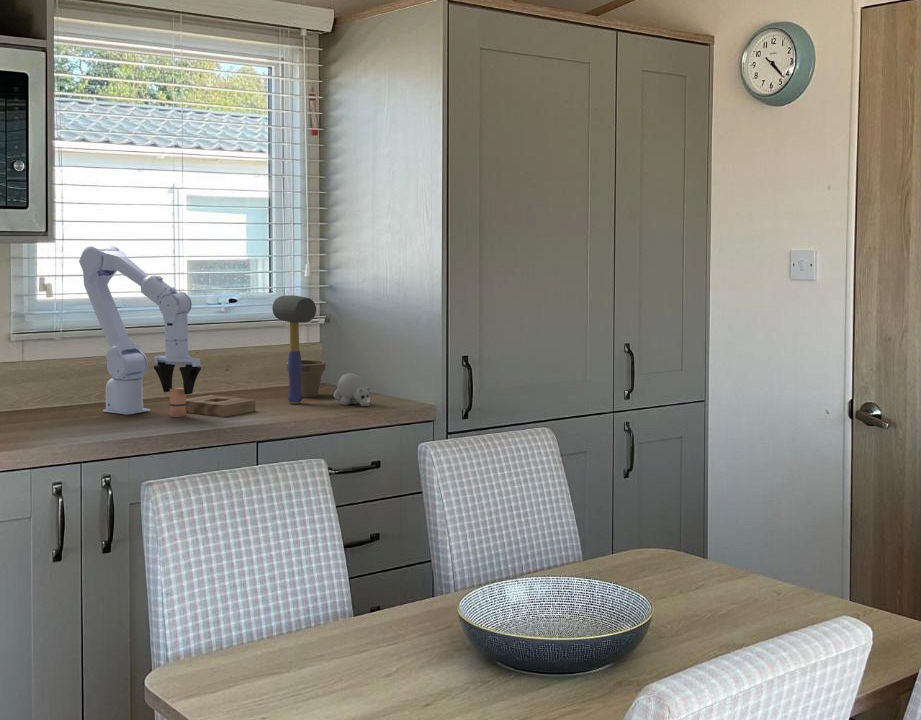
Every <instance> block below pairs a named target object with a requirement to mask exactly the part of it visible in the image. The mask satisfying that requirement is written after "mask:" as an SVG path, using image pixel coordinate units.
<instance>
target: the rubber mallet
mask: <svg viewBox="0 0 921 720" xmlns="http://www.w3.org/2000/svg"><path fill="white" fill-rule="evenodd" d="M271 307H272V308H271V309H272V313H273V315H274V317H275V318H276V319H278V320H279V321H283V322H288V323H289V352H288V360H287V362H288V371H287V373H288V374H287V375H288V394H287V400H288V402H289V404H291V405H298V404H301V401H302V400H303V397H302V392H301V372H302V362H301V360H302V356H301V351H300V327H299V324H300V323H301V324H303V323H304V324H305V323H309V322H311V321H313V319H314V318H315V316H316V314H317V306H316V303H315V302H314V300H313V299H311V298H309V297H306V296H301V295H280V296H278V297H277V298H275V300H274V301H273V304H272V306H271Z"/></svg>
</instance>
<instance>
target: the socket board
mask: <svg viewBox="0 0 921 720" xmlns="http://www.w3.org/2000/svg"><path fill="white" fill-rule="evenodd" d="M252 412H256V399H250V398H242V397H235V396H234V397H233V396H222V395H215V394H214V395H213V394H209V395H203V396H197V397H191V398H186V414H187V413H189V414H196V415H197V414H198V415H203V416H204V415H205V416H213V417H220V418H221V417H222V418H224V417H229V416H235V415H241V414H247V413H252Z"/></svg>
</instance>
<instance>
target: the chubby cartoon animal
mask: <svg viewBox="0 0 921 720" xmlns="http://www.w3.org/2000/svg"><path fill="white" fill-rule="evenodd" d="M370 389H371V387H370V386H368V387H364V381H363V380H362V378H361V376H360V375H358V374H355V373H351V372H350V373H345V374H343V375H342V376H340V378H339V380H338V381H337V388H336V389H335V391H334V392H333V398H334V400H339V401H340V404H341V405H343V406H346V405H347V406H349V405H350V404H352V405H358V404H357V403H359V404H360V406H362V407H363V406H367V407H369V406H370V404H371V398H370V391H369V390H370Z"/></svg>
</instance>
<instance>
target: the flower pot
mask: <svg viewBox="0 0 921 720" xmlns="http://www.w3.org/2000/svg"><path fill="white" fill-rule="evenodd" d="M301 362H302V372H301V392H302V398H303V399H304V398H305V399H306V398H314V397H317V396H318V394H319V390H320V385H321V381H322V376H323V372H324V371H326V366H327V365H326V363H327V362H325V361H323V360H317V359H301ZM285 369H286V372H288V361H286V363H285Z"/></svg>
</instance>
